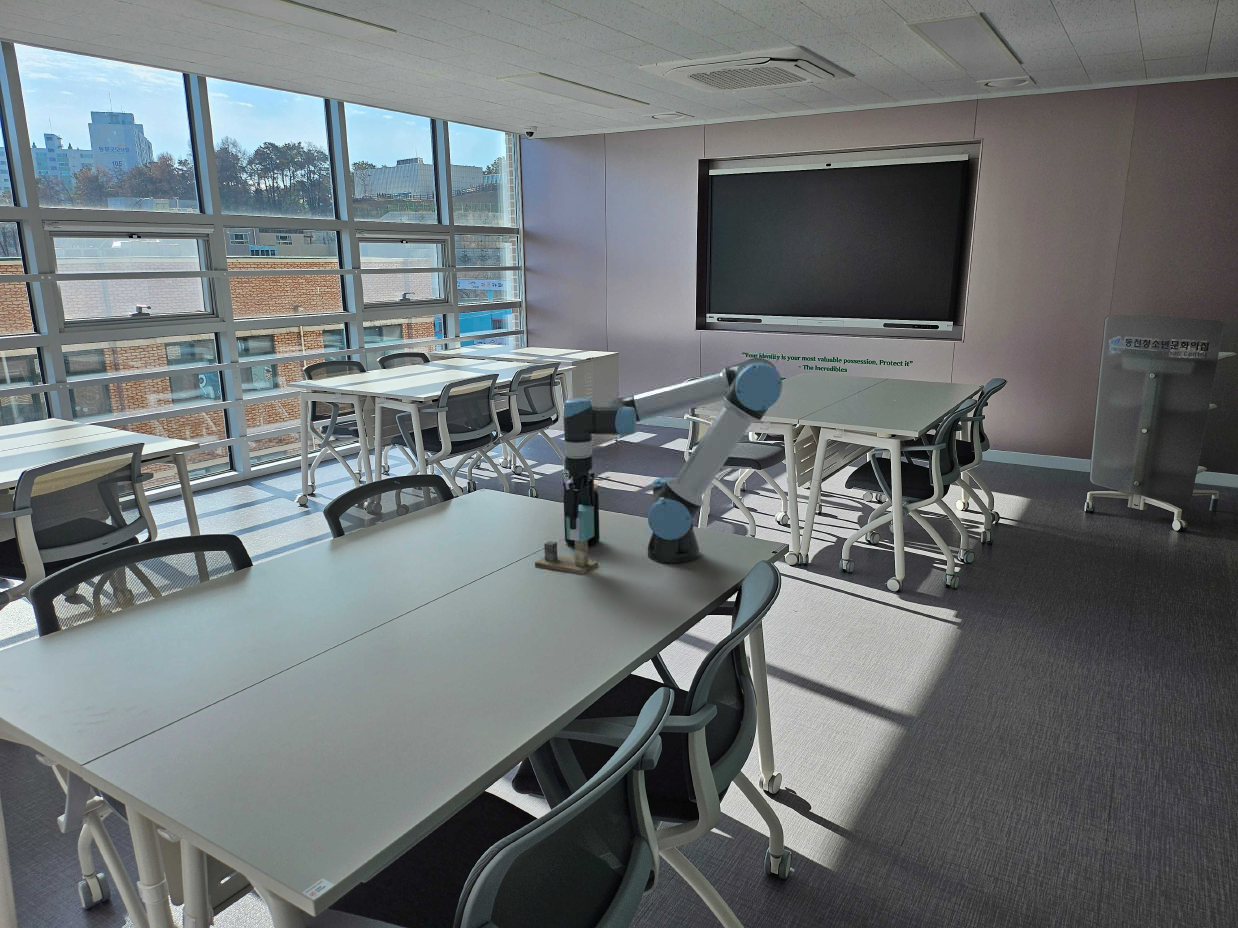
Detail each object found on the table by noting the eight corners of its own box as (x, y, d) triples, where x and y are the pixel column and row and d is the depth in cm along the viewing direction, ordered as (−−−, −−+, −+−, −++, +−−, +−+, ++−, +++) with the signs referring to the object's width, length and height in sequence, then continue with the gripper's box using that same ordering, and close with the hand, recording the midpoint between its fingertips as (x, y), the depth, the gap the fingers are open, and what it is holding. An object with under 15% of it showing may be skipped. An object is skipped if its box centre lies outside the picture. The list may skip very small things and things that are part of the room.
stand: (549, 557, 243) (548, 524, 241) (597, 565, 236) (597, 531, 234) (535, 566, 237) (533, 532, 234) (584, 574, 229) (583, 539, 227)
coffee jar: (559, 540, 259) (557, 484, 255) (591, 535, 263) (590, 480, 259) (572, 550, 250) (570, 492, 246) (605, 545, 254) (603, 488, 250)
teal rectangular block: (576, 533, 236) (576, 504, 234) (594, 535, 233) (593, 506, 231) (567, 538, 231) (566, 509, 229) (584, 541, 228) (583, 511, 227)
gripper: (583, 447, 237) (585, 525, 242) (548, 461, 220) (551, 544, 226) (606, 449, 233) (607, 529, 239) (573, 463, 217) (575, 548, 222)
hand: (580, 536), depth 232 cm, fingers closed on teal rectangular block, 6 cm apart
